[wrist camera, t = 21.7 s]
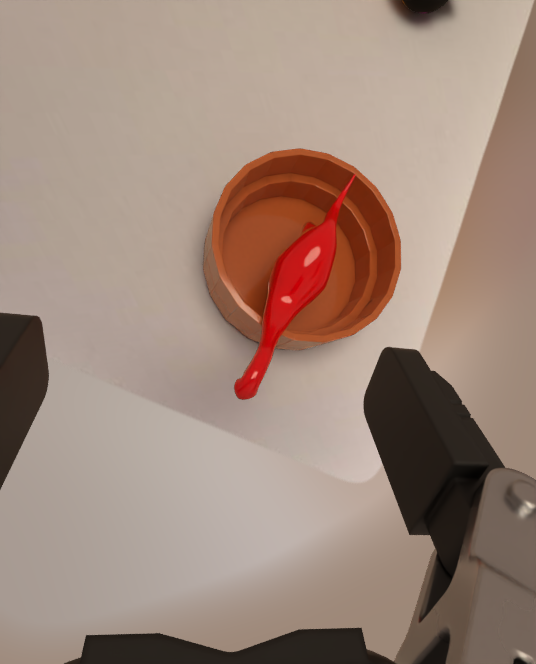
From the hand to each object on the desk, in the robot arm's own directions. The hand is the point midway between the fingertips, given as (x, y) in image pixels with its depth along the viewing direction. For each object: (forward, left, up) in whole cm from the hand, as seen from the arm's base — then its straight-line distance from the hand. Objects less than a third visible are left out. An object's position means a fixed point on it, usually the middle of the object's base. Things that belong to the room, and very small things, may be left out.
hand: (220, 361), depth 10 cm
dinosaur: (+13, +3, -21) cm, 25 cm away
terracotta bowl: (+13, +3, -23) cm, 27 cm away
